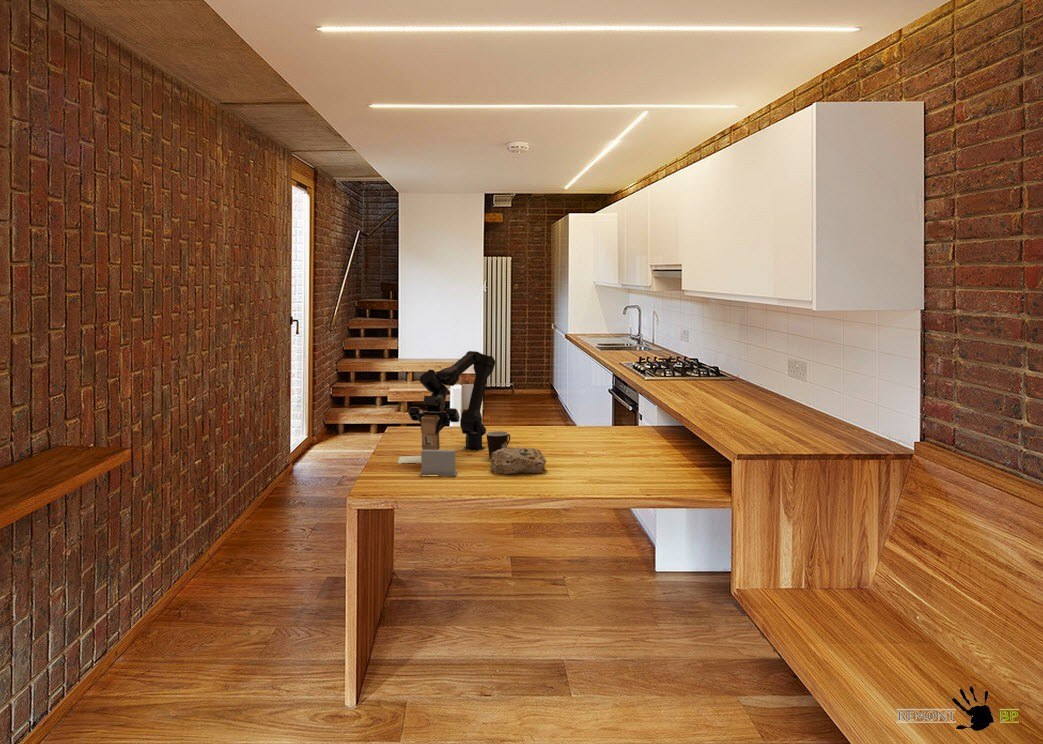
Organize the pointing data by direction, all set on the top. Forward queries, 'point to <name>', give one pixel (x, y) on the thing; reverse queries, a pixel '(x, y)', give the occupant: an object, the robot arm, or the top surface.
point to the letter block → (430, 432)
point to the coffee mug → (497, 441)
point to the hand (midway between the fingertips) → (429, 433)
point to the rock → (517, 460)
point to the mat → (409, 459)
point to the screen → (438, 462)
